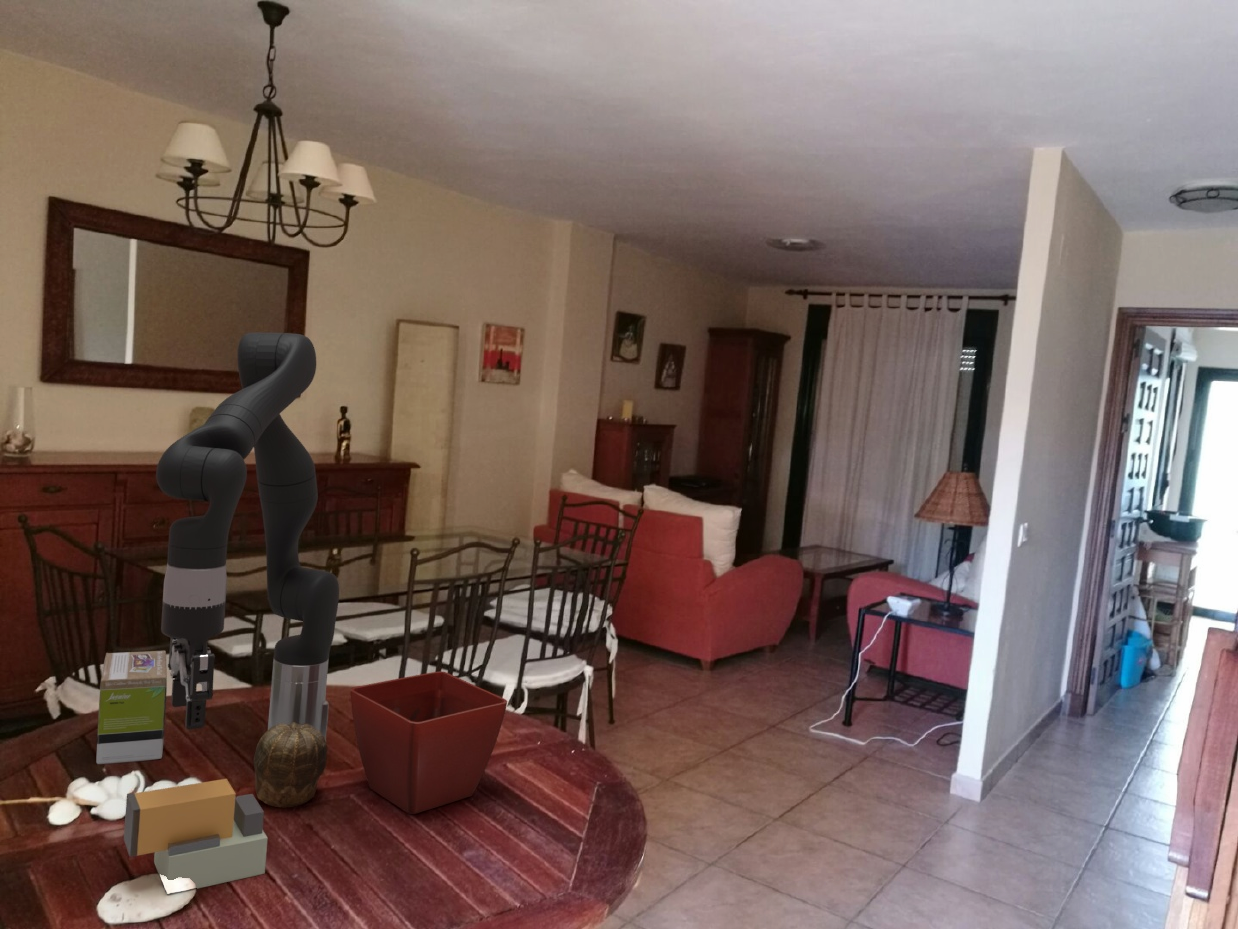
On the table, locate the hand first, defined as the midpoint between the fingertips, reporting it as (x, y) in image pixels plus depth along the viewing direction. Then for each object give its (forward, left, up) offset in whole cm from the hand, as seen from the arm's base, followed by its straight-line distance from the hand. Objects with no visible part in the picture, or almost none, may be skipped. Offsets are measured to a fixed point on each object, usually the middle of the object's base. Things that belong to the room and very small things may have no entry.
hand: (187, 716), depth 119 cm
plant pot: (-39, -7, -21) cm, 44 cm away
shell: (-19, -13, -21) cm, 31 cm away
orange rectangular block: (0, +3, -16) cm, 16 cm away
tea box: (-1, -43, -21) cm, 48 cm away
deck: (-4, +3, -21) cm, 21 cm away
